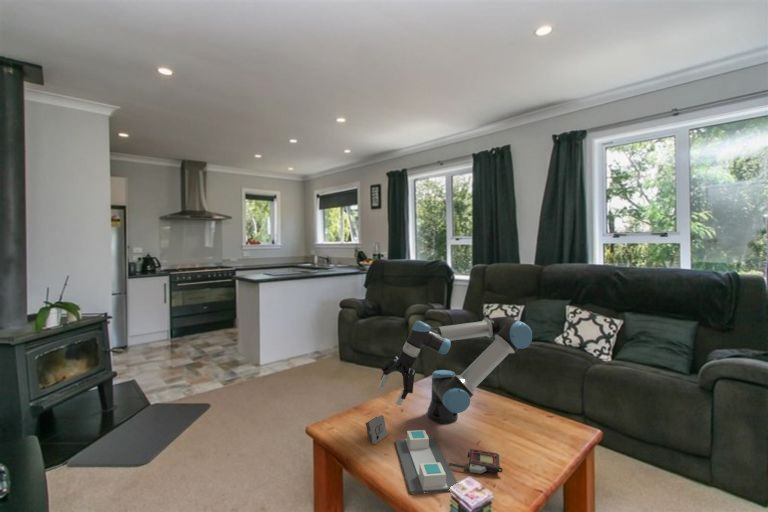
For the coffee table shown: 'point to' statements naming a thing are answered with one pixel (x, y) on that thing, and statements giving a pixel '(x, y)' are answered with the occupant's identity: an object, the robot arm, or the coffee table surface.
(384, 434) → the electrical switch
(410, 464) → the rail board
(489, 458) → the walkie-talkie
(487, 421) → the coffee table surface
